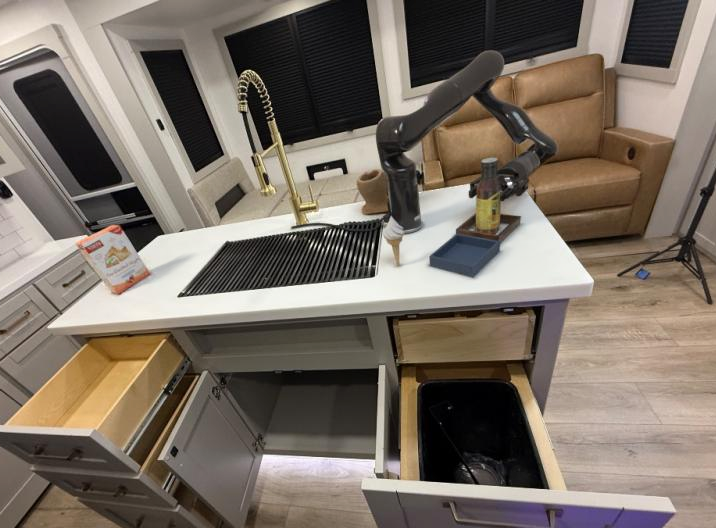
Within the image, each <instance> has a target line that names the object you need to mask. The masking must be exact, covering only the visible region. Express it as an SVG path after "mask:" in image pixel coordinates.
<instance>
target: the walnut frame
mask: <svg viewBox="0 0 716 528" xmlns="http://www.w3.org/2000/svg"><path fill="white" fill-rule="evenodd" d="M521 218H522V216H521V215H516V214H515V215H514V214H506V213H500V224H506V225H507V226H505V228H503V229H502V230H501V231H500V232H499V233H498V234H496V233H494V234H489V233H483V232H477V231H476V230H470V228H472V227H473V226H474V225H476V212H475V213H473V215H471V216H470V217H469V218H467V220H465V221H464V222H463V223H461V224H460V225H459V226H457V228H455V235H456V234H462V235H468V236H473V237H479V238H484V239H490V240H496V241H500V244H501V243H502V242H503V241H505V240H506V239H507V238H508V237H509V236H510V235H511V234H512V233H513V232H514V231H515V230H516V229H517V228H518V227H519V226H520V225H521V221H522V219H521Z"/></svg>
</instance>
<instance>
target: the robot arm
mask: <svg viewBox="0 0 716 528" xmlns="http://www.w3.org/2000/svg"><path fill="white" fill-rule="evenodd" d="M504 70H505V58H504V56H503V55H502V54H501V53H500V52H499V51H496V50H491V49H490V50H484V51H483V52H481V53H479V54H478V55H477V56H476V57H475V58H474V59H473V60H472V61H471V62H470V63H469V64H468V65H466V66H465V67H464V68H463V69H461V70H460V71H458V72H456V73H455V74H453V75H452V76H450V77H449V78H447V79H446V80H444V81H443V82H441V83H440V84H438V85H437V86H435V87H434V88H433V89H431V91H429V93H428V94H427V95H426V97H425V98H424V101H423V105H422V106H421V107H420V108H418V109H417V110H415V111H413V112H411V113H409V114H404V115H403V114H402V115H389V116H385V117H383V118H381V119H380V121H379V122H378V123H377V126H376V129H375V144H376V149H377V154H378V158H379V165H380V168H381V170H382V171H383V172H384V174H385V178H386V184H387V196H388V197H389V201H388V202H387V207H388V211H387V212H386V213H384V214H383V215H382V217H381V218H380V219H379V221H378V224H377V225H376V226H375V227H372V228H366V229H364V228H361V229H360V228H350V227H349V228H348V227H345V226H341V225H338V224H334V223H327V222H310V223H309V222H308V223H302V224H297V225H292V226H290V228H291V229H296V228H302V227H307V226H328V227H333V228H337V229H340V230H341V229H342V230H344V231H347V232H359V233H361V232H365V233H366V232H370V231H376V230H377V229H379V228H380V227H381V226H382V222H383V224H384V223H385V224H388V222H389V220H390V217H391V216H392V218H393V219H394V220H395V221H396V222H397V223H398V224H399V226H401V227H402V228H404V229H403V231H404V235H406V234H411V233H414V232H417V231H419V230H420V229H421V228H422V227H423V221H422V214H421V211H422V210H421V201H420V193H419V191H420V190H419V184H418V183H419V182H418V173H417V165H416V162H415V161H414V160H412V159H410V158H409V157H407V155H406V154H405V153H407V152H410V151H411V150H413V149H415V147H417V145H419V144H420V142H422V141H423V140H424V138H426V137H427V136H428V135H429V134H430V133H431V132H432V131H434V130H435V129H436V128H437V127H439V126H440V125H441V124H442V123H444V122H445V121H446V120H448V119H450V118H451V117H452V116H453V115H455V114H456V113H458V111H460V110H461V109H462V108H463V106H464V105H465V104H466V103H467V102H468V101H469V100H470V99H471V98H473V99H475V100H476V101H477V103H479V104H480V106H482V107H483V108H484V109H485V110H486V111H487V112H488V113H489V114H490V115H491V116H492V117H493V118H494V119H495V120H496V121H497V122H498V123H499V124H500V126H501V127H502V128H503V131H505V133H506V135H508V137H509V139H510V140H511V141H512V143H513V144H514V145H516V146H520V145H523V144H524V143H526V142H528V141H532V142H533V144H532V145H530V146H529V147H528V148H527V149H525V151H523V152H521V153H520V154H518V155H517V156H516V157H514V158H512V159H510V160H508V161H507V162H506V163H505V164H503V165H501V166H500V167H499V168H497V177H498V180H499V183H500V186H501V189H502V190H501V194H500V201H501V202H504V201H506V200H508V199H509V198H510V197H514V195H515V196H516V197H521V196H523V194H524V193H526V191H527V190H528V189H529V186H530V177H531V176H532V175H533V174H534V173H535V172H537V170H538V169H540V168H541V167H543V166H544V165H545V164H547V163H548V162H550V160H552V159H553V158H554V157H555V156H557V154H558V153H559V145H558V143H557V141H556V140H555V139H554V137H551V136H550V135H548V133H545V131H543V130H542V129H540V128H539V127H538V126H537V125H536V124H535V123H534V122H533V120H532V118H530V116H529V115H528V113H527V112H526V111H525V110H524V109H523V108H522V107H521V106H519V105H517V104H514V103H511V102H508V101H505V100H503V99H500V98H499V97H497V96H496V95H495V93H494V92H493V90H492V87H493V86H494V85H495V83H496V82H497V81H498V80H499V78H500V77H501V76H502V74H503V71H504ZM480 180H481V176H479V177H478V178H476V179H475V180H473V181H470V183H469V190H468V198H469V199H473V198H476V196H477V185H478V183H479V182H480Z"/></svg>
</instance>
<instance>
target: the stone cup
mask: <svg viewBox="0 0 716 528" xmlns="http://www.w3.org/2000/svg"><path fill="white" fill-rule="evenodd" d="M356 187H357V190H358V192H359V194H360V196H361V197H362V199H363V201H364V202H365V204H363V206H362V208H361V213H362V214H365V215H369V214H370V215H371V214H378V213H387V212H388V207H387V202H388V201H389V197H388V190H387V184H386V178H385V173H384V172H383V170H382V169H379V168H374V169H371V170H370V171H364V172H363V173H361V174H360V175H359V176H358V177H357V178H356Z"/></svg>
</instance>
